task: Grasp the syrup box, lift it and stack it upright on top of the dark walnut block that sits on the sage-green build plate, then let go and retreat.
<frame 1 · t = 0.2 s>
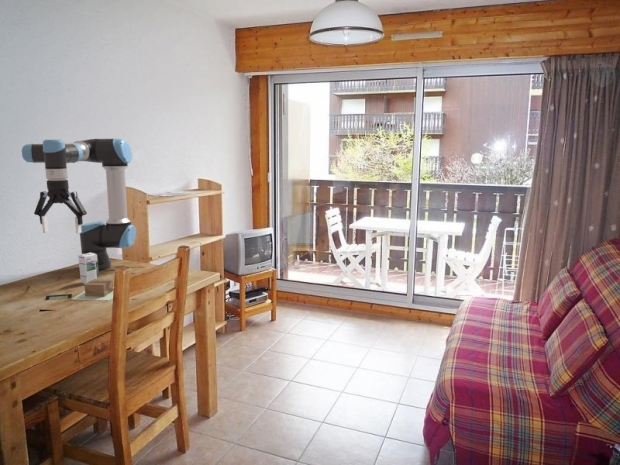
hand: (62, 232, 192), 28 cm above the table, fingers open, 13 cm apart
calculator: (56, 306, 190), on the table
build plate: (100, 296, 200), on the table
syrup box: (90, 285, 215), on the table
walnut block: (99, 293, 200), point 1 cm above the table, touching build plate
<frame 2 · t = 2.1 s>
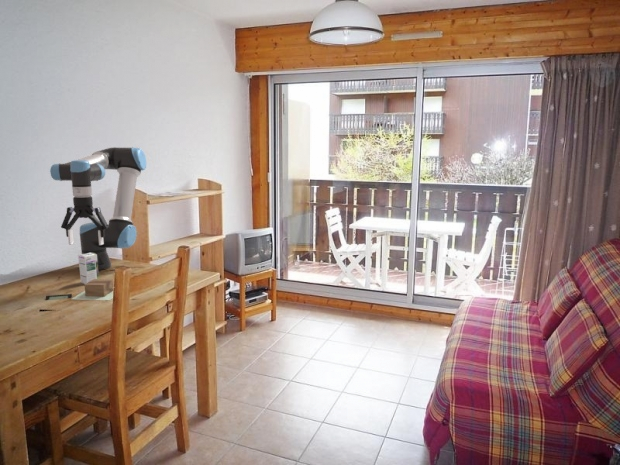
hand: (86, 244, 211), 19 cm above the table, fingers open, 13 cm apart
nothing on the table moved.
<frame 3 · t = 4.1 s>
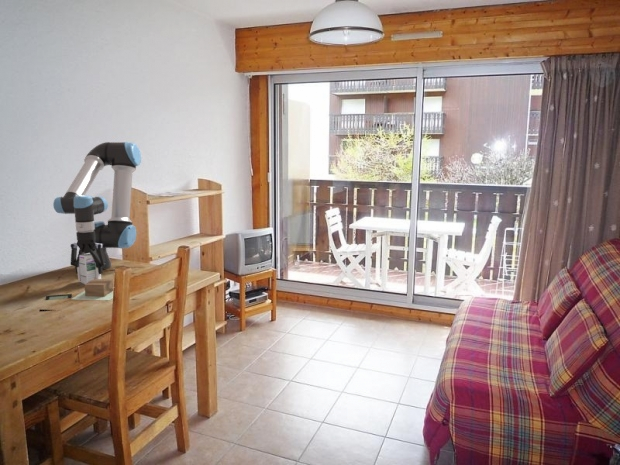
hand: (89, 280, 215), 2 cm above the table, fingers closed on syrup box, 8 cm apart
syrup box: (90, 285, 215), on the table, touching gripper
everything else where it was.
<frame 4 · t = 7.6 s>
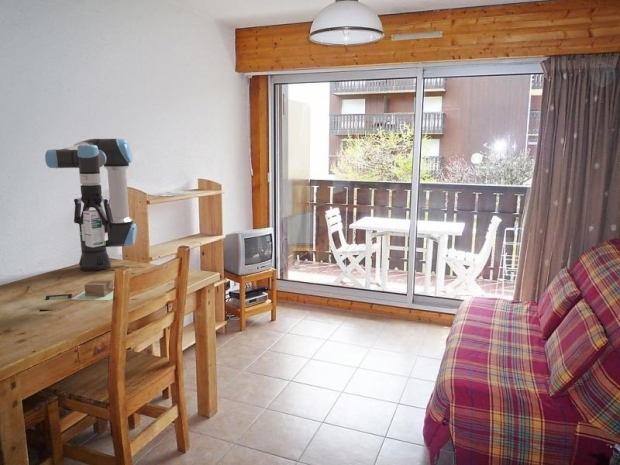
hand: (95, 240, 195), 24 cm above the table, fingers closed on syrup box, 8 cm apart
syrup box: (95, 246, 196), point 22 cm above the table, touching gripper
everything else where it was.
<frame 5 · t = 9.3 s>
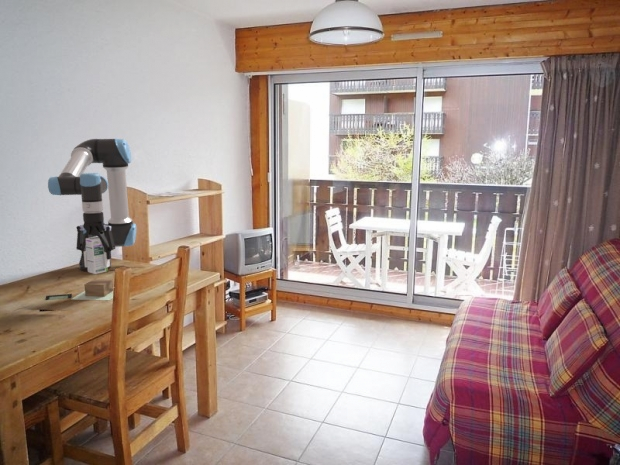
hand: (97, 266, 197), 13 cm above the table, fingers closed on syrup box, 8 cm apart
syrup box: (97, 272, 198), point 11 cm above the table, touching gripper
everything else where it was.
when the fingers open (10 cm above the table, at t = 11.0 s): syrup box stays where it is, resting on walnut block.
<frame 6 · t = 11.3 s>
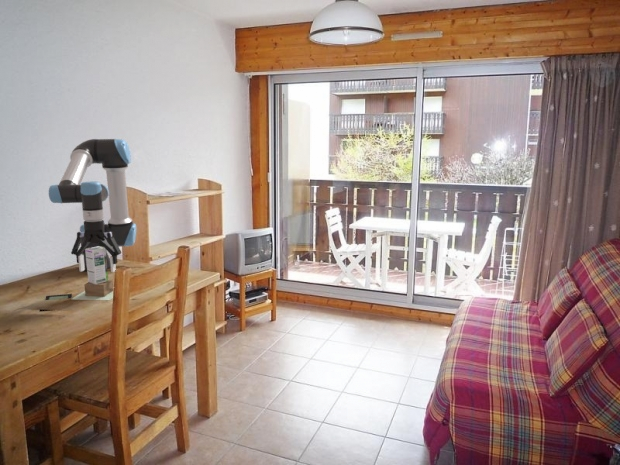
hand: (97, 271, 198), 11 cm above the table, fingers open, 13 cm apart
syrup box: (98, 282, 199), point 6 cm above the table, touching walnut block
walnut block: (99, 293, 200), point 1 cm above the table, touching build plate, syrup box
everything else where it was.
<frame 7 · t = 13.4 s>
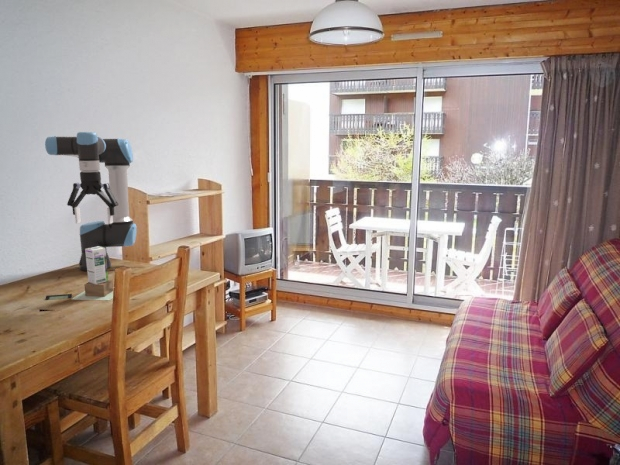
hand: (94, 223, 197), 31 cm above the table, fingers open, 13 cm apart
nothing on the table moved.
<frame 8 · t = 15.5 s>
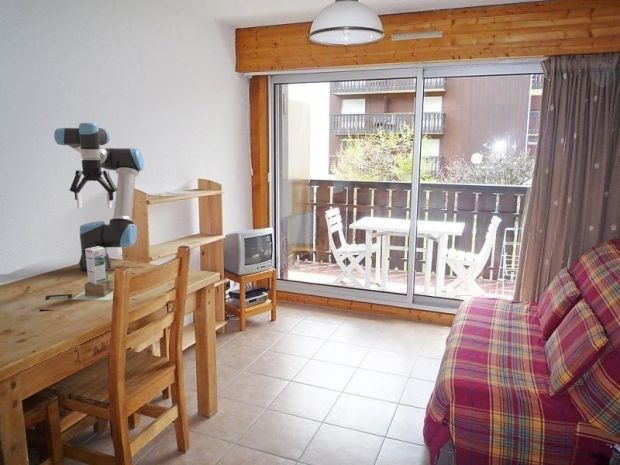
hand: (95, 207, 212), 35 cm above the table, fingers open, 13 cm apart
nothing on the table moved.
at the end: syrup box 0.2 cm from the walnut block (horizontally); syrup box tilted 0°; syrup box touching walnut block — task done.
